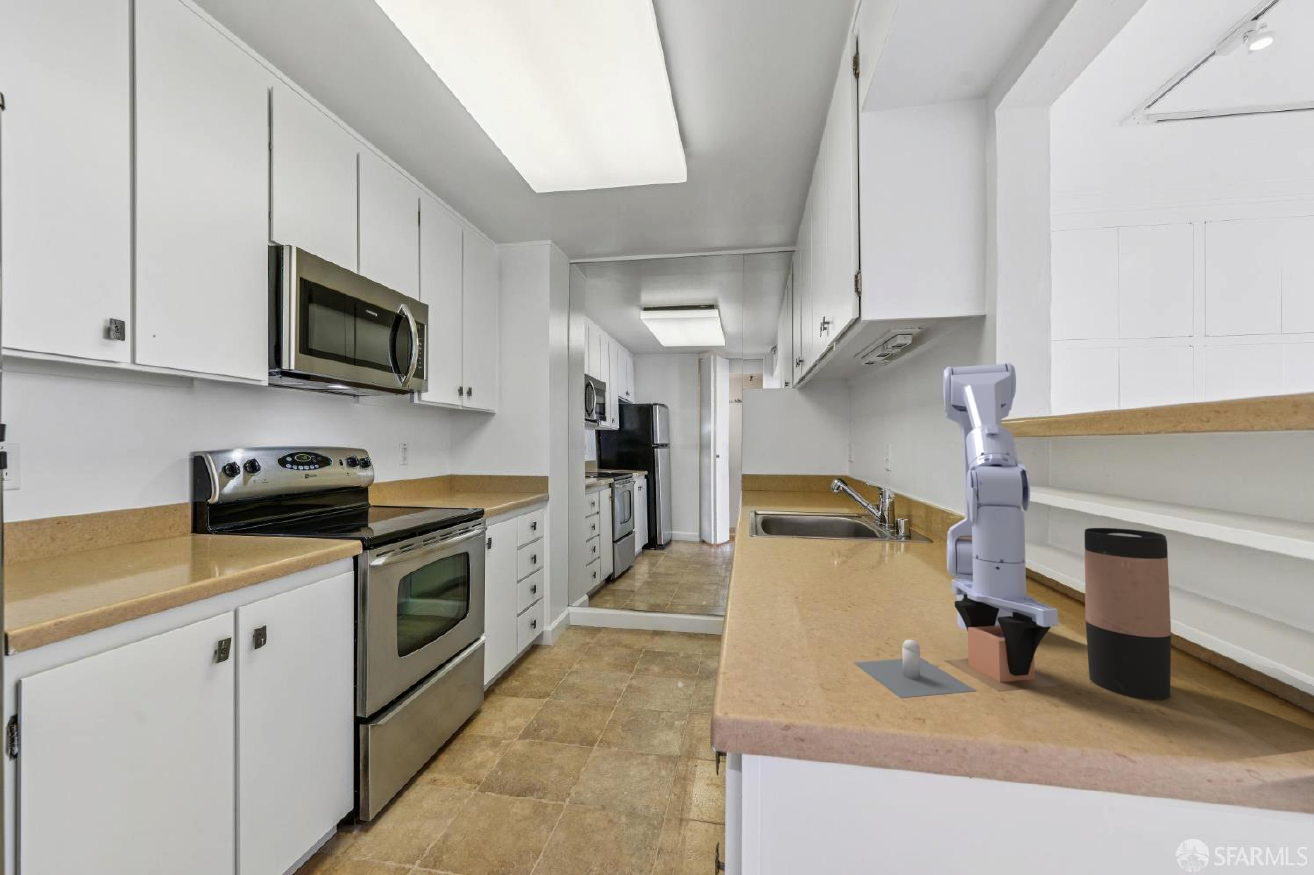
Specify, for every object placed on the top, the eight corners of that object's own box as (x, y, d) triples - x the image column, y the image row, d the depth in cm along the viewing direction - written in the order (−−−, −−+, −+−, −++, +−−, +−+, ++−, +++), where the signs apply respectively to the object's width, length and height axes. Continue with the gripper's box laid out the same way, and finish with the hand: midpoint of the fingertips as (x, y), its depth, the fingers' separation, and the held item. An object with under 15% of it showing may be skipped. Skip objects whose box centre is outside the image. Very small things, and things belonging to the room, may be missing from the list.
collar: (1001, 662, 69) (1000, 625, 69) (1034, 679, 64) (1033, 638, 64) (968, 665, 68) (967, 627, 68) (999, 682, 63) (998, 641, 63)
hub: (920, 668, 71) (919, 624, 71) (977, 703, 61) (976, 652, 61) (853, 673, 69) (853, 628, 69) (901, 710, 59) (900, 658, 59)
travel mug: (1071, 683, 66) (1067, 527, 67) (1132, 684, 66) (1128, 527, 66) (1123, 713, 58) (1119, 537, 59) (1193, 714, 58) (1187, 537, 59)
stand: (1002, 666, 71) (1001, 623, 71) (1063, 697, 62) (1062, 647, 63) (944, 671, 70) (943, 627, 70) (999, 703, 61) (998, 652, 61)
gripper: (931, 549, 73) (933, 645, 73) (1019, 573, 59) (1022, 693, 58) (975, 547, 74) (977, 642, 74) (1072, 570, 60) (1075, 688, 59)
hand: (1000, 664), depth 66 cm, fingers closed on collar, 5 cm apart
